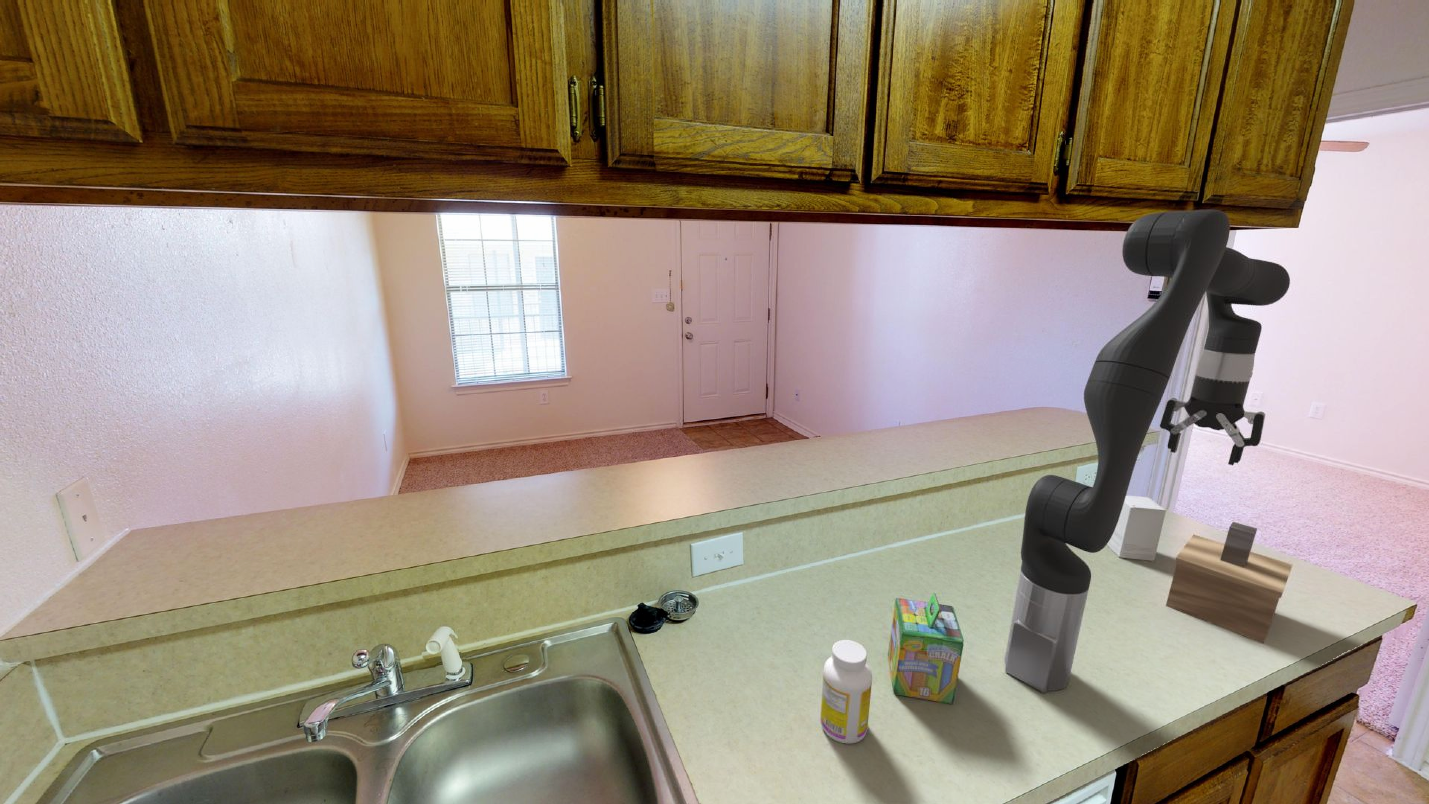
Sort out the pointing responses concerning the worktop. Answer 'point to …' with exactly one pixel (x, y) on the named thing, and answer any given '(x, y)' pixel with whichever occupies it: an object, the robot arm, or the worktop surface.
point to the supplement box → (1138, 529)
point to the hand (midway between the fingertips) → (1201, 457)
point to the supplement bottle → (846, 693)
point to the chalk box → (925, 650)
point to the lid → (1236, 561)
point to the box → (1222, 602)
